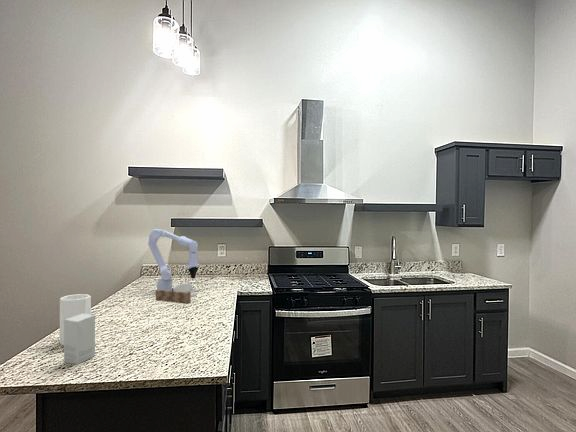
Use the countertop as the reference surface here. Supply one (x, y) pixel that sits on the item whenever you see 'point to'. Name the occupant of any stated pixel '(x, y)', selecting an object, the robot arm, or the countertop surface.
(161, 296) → the walnut bracket
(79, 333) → the skincare box
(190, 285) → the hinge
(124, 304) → the countertop surface
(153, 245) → the robot arm
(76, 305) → the cup
